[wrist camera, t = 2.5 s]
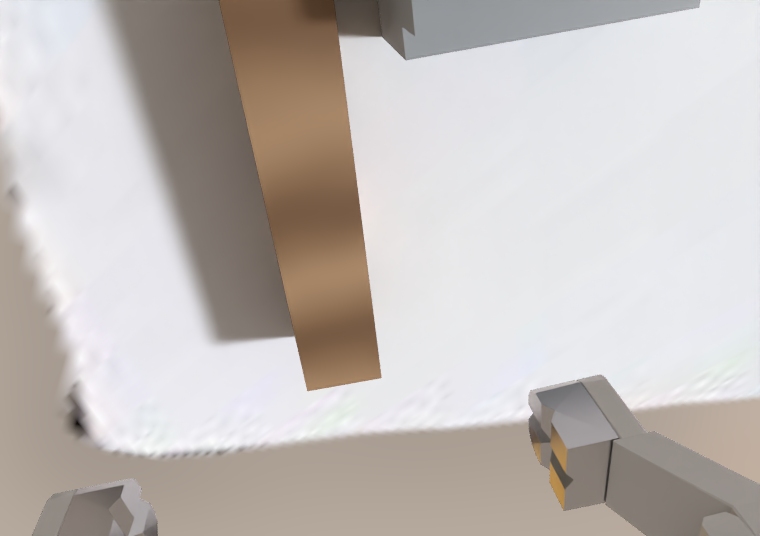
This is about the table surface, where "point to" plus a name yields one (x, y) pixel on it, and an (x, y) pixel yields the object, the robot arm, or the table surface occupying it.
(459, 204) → the table surface
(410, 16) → the ridge block
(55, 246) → the table surface
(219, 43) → the table surface
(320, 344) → the walnut bar
